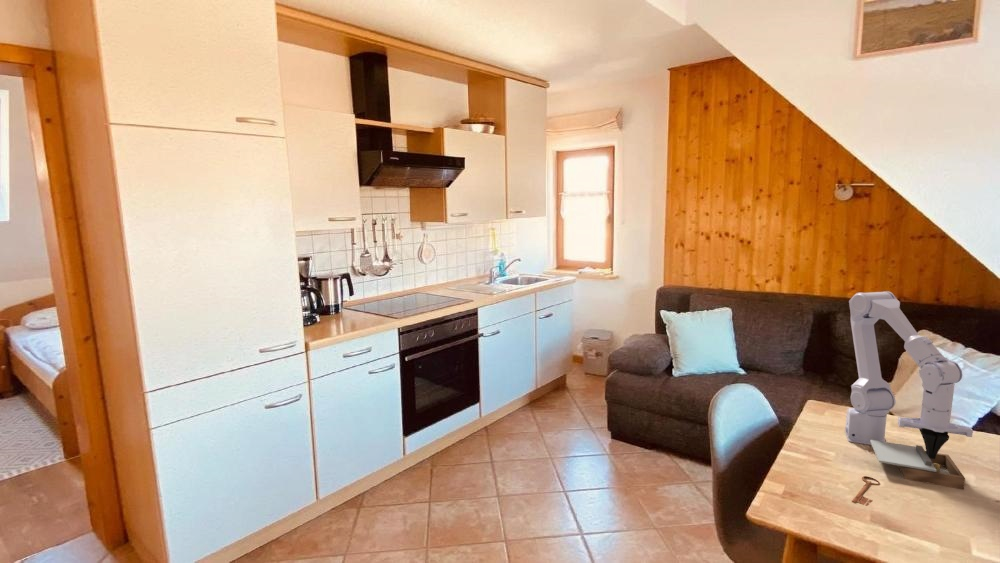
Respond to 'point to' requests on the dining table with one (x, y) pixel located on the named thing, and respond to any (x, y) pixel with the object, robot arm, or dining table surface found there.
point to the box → (937, 473)
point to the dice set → (939, 468)
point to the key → (865, 487)
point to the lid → (902, 455)
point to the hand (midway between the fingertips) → (930, 456)
